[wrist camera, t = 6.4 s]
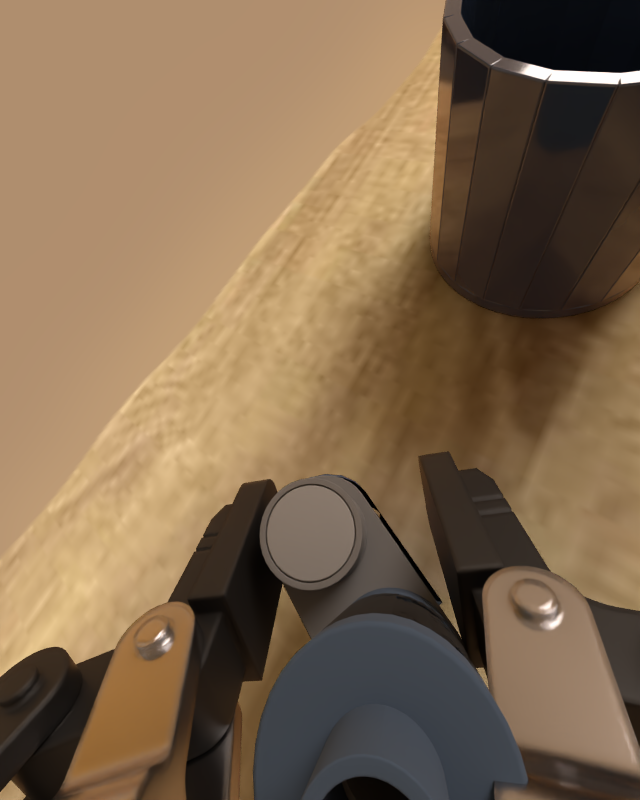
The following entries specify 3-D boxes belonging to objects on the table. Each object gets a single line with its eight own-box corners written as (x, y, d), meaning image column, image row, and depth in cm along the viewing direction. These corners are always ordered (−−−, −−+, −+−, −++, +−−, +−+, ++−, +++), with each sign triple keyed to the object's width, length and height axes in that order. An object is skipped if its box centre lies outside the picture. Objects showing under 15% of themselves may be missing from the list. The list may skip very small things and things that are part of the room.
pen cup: (602, 142, 19) (746, -166, 11) (703, 289, 15) (1049, -24, 7) (412, 193, 21) (413, -40, 12) (457, 339, 16) (502, 133, 8)
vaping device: (394, 666, 12) (299, 1409, 2) (314, 529, 15) (55, 463, 4) (455, 621, 13) (750, 1044, 2) (366, 492, 15) (254, 328, 4)
